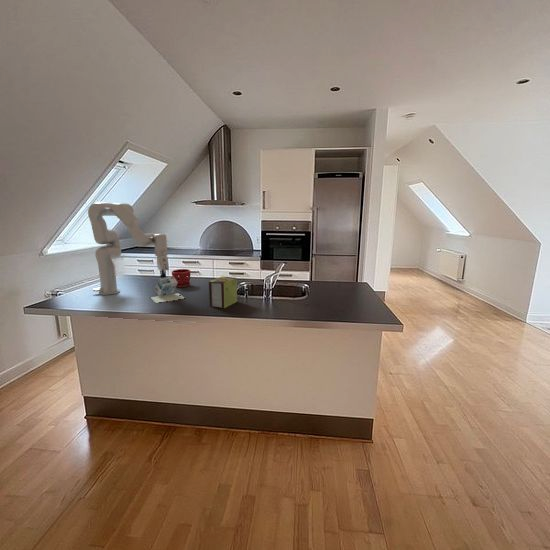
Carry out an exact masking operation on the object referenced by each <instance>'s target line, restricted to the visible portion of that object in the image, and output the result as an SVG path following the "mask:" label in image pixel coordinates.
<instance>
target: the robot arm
mask: <svg viewBox="0 0 550 550" xmlns="http://www.w3.org/2000/svg"><path fill="white" fill-rule="evenodd" d="M87 215H88V218H89V222H90V224H91V230H92V235H93V239H94V242H95V243H96V244H98V245H104V246H100V247H98V248H97V249H96V250H95V253H94V254H95V255H94V256H95V258H96V262H97V265H98V266H97V267H98V273H99V275H98V276H99V282H100V286H99V287H95V288H92V292H95V293H96V292H98V295H100V296H101V295H102V296H107V295H109V296H110V295H115V294H118V293H120V292H121V290H120V289H119V288H118V284H117V276H116V274H117V273H116V266H115V264H114V262H113V260H116V259H118V258H120V257H121V255H122V248H121V243H120V239H119V236H118V233H117V232H116V231H115V230H114V229H108V225H107V221H106V220H105V219H104V217H107V216H108V217H109V216H111V217H116V218H118V219H119V221H121V222H122V224H123V225H124V226H125V227H126V228H127V230H128V232H129V235H130V236H131V238H132V239H133V240H134V241H135V242H136V243H137V244H138V245H140V246H142V247H148V246H153V245H154V256H155V257H156V265H157V269H158V271H159V274H160V277H159V278H165V277H167V271H169V270H170V267H169V260H168V243H167V242H168V240H167V235H166V234H164V233H151V232H150V233H149V232H148V233H144V232H143V231H142V230H141V229H140V227H139V226H138V224H139V222H140V219H139V218H138V217H137V216H136V215H135V214H134V207H133V206H132V205H131V204H129V203H122V202H120V203H119V202H118V203H117V202H106V201H105V202H104V201H103V202H102V201H98V202H94V203H92V204H91V205H90V206H89V207H88V209H87Z"/></svg>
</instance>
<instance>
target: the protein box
mask: <svg viewBox="0 0 550 550" xmlns="http://www.w3.org/2000/svg"><path fill="white" fill-rule="evenodd" d="M237 279H238V278H237V277H231V276H226V275H225V276H224V275H222V276H220V277H216V278H214V279H212V280H209V281H208V292H209V293H208V295H209V296H208V297H209V307H212V308H218V307H219V308H220V309H226V308H227V307H230V306H232V305H234V304H235V303H237V302H238V281H237Z"/></svg>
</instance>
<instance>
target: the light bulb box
mask: <svg viewBox="0 0 550 550" xmlns="http://www.w3.org/2000/svg"><path fill="white" fill-rule="evenodd" d="M177 284H178V282H177V281H176V279H175V278H174V277H173V276H172V275H170V276H166V277H165V278H161V277H159V278H158V281H157V283H156V285H155V288H154V291H155V293H156V294H157V296H164V295H170V294H174V292H175V290H176V288H177V287H176V286H177Z"/></svg>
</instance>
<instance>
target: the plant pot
mask: <svg viewBox="0 0 550 550" xmlns="http://www.w3.org/2000/svg"><path fill="white" fill-rule="evenodd" d="M171 276H173V277H174V278H175V279H176V281H177V282H178V284H177V286H176V288H186V286H187V287H189V286H190V285H191V282H190V280H191V269H189V268H180V269H174V270H172V271H171Z"/></svg>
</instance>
